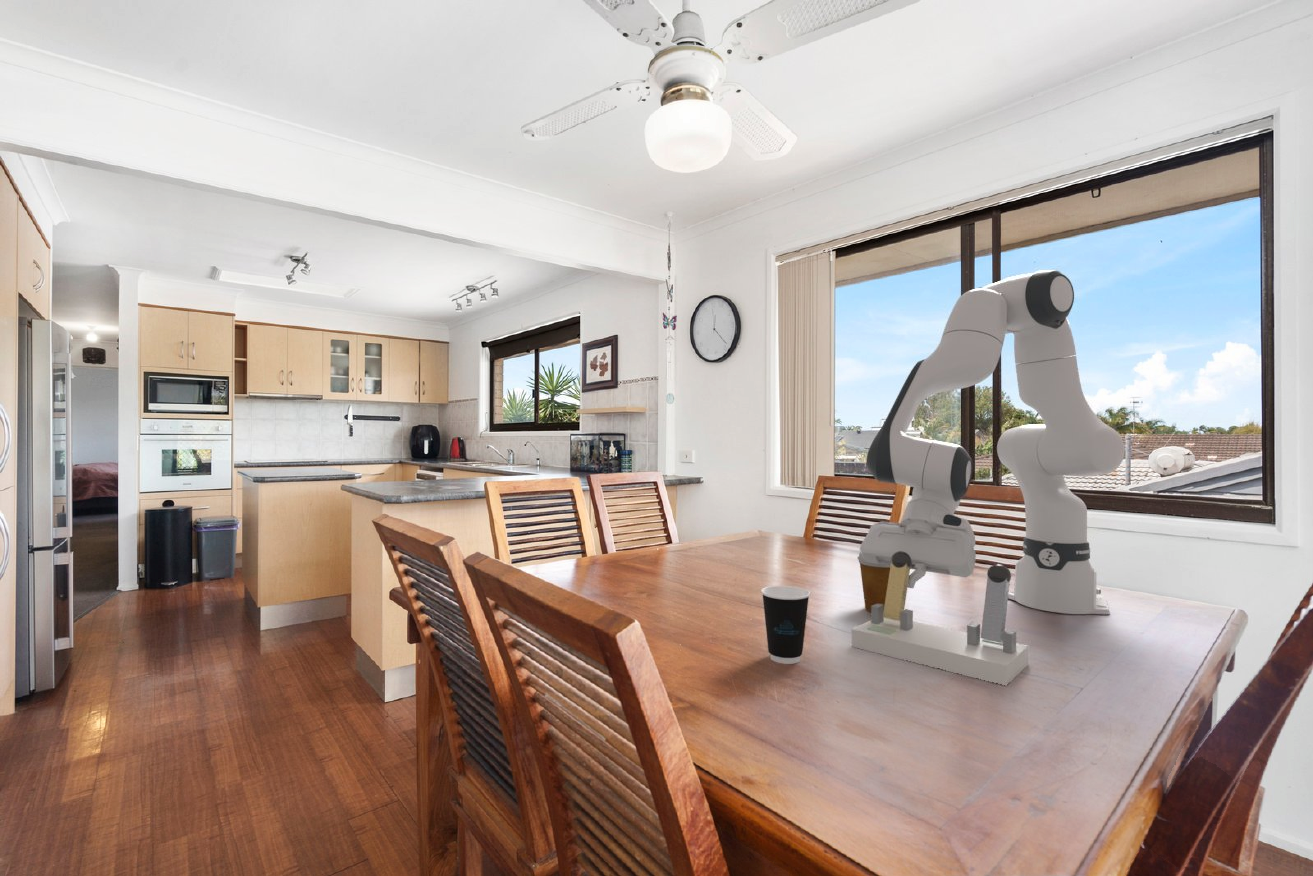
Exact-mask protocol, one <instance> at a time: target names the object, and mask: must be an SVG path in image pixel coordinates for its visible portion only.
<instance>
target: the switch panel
mask: <svg viewBox="0 0 1313 876" xmlns="http://www.w3.org/2000/svg"><path fill="white" fill-rule="evenodd" d="M883 612H884V605H882V604H875V605H873V606H871V612H870V615H871V616H870V620H869V621H866V622H864V623H862V624H860V625H857V626H855V627H853V628H852V629H851V647H852V648H855V649H859V650H865V651H867V652H872V653H875V654H878V655H883V656H887V657H891V658H896V659H899V660H902V659H904V660H903V661H906V660H908V662H910V661H911V662H910V663H914V662H915V664H919V665H922V664H925V665H924V666H926V665H928V666H927V667H931V668H933V667H934V668H933V669H937V668H940V669H939V670H941V669H943V670H942V671H945V670H946V672H949V673H955V674H957V673H959V674H958V675H961V674H962V675H961V676H964V677H965V676H966V677H968V678H972V679H973V678H974V679H976V678H979V679H978V680H980V679H981V680H980V681H984V680H985V681H984V682H988V681H989V682H988V683H992V682H994V683H993V684H996V683H998V684H997V685H1000V684H1002V685H1001V686H1004V685H1005V687H1007V686H1008V685H1009V684H1010V683H1011V682H1012V681H1013V680H1014V679H1016V678H1017V676H1019V674H1020V673H1021V672H1023V670H1024V669H1025V668H1026V667H1027V666H1028V665H1029V645H1027V644H1022V643H1018V642H1017V630H1013V629H1006V630H1005V632H1003V643H999V642H994V641H989V640H984V639H982V638H981V624H980V623H978V622H977V623H976V622H971V623H969V624H967V626H966V632H965V631H960V630H957V629H953V628H952V629H950V628H947V627H946V628H945V627H941V626H938V625H933V624H927V623H924V622H923V623H922V622H918V621H914V618H913V617H914V610H912V609H909V608H908V609H905V608H904V610H903V611H901V612H900V621H895V620H891V619H886V618H884V617H883ZM1009 682H1010V683H1009ZM1008 683H1009V684H1008ZM1007 684H1008V685H1007Z"/></svg>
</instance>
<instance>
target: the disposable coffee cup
mask: <svg viewBox="0 0 1313 876" xmlns="http://www.w3.org/2000/svg"><path fill="white" fill-rule="evenodd" d="M857 560H858V563H859V568H860V577H861V582H862V592H863V600H864V608H865V611H867V612H869V613H871V606H873V605H875V604H882V605H884V606H885V599H886V593H887V586H888V580H889V573H890V566H888V565H882V564H875V563H869V562H866V561H865V559H864V558H863V556H862V554H861V552H860V551H859V553H858V556H857Z"/></svg>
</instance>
